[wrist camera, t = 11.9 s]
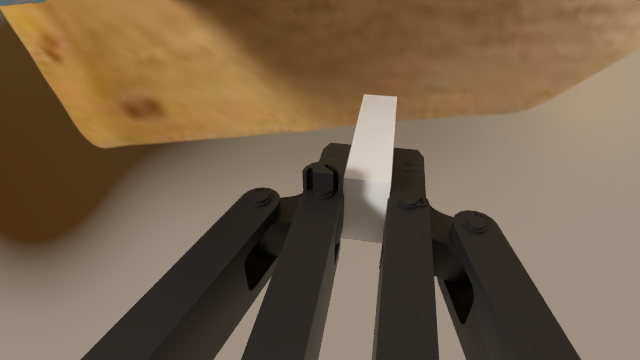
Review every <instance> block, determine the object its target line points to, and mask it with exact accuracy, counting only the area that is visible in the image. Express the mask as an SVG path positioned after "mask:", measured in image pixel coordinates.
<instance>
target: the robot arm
mask: <svg viewBox="0 0 640 360" xmlns="http://www.w3.org/2000/svg"><path fill="white" fill-rule="evenodd" d="M45 1H46V0H0V6H8V5H17V4H26V3H40V2H45ZM396 104H397V97H395V96H380V95H366V94H364V96H363V101H362V105H361V109H360V113H359V117H358V121H357V125H356V129H355V133H354V138H353V142H352V145H348V144H338V143H330V144H329V145H327V146H326V147H325V148H324V149H323V152H322V154H321V158H320V160H319V162H316V163H312V164H310V165H308V166H306V167H305V168H304V170H303V193H302V194H299V195H296V196H292V197H284V198H280V197H279V194H278V193H277V192H276V191H274V190H272V189H270V188H255V189H252V190H250V191H248V192H247V193H245V194H244V195H243V196H242V197H241V198H240V199H239V200H238V201H237V202H236V203H235V204H234V205H233V206H232V207H231V208H230V209H229V210H228V211H227V212H226V213H225V214H224V215H223V216H222V217H221V218H220V219H219V220H218V221H217V222H216V223H215V224H214V225H213V226H212V227H211V228H210V229H209V230H208V231H207V232H206V233H205V234H204V235H203V236H202V237H201V238H200V239H199V240H198V241H197V242H196V243H195V244H194V245H193V246H192V247H191V248H190V249H189V250H188V251H187V252H186V253H185V255H183V256H182V257H181V258H180V259H179V261H177V263H175V264H174V265H173V267H172V268H171V269H170V270H169V271H168V272H167V273H166V274H165V275H164V276H163V277H162V278H161V279H160V280H159V281H158V282H157V283H156V284H155V285H154V286H153V287H152V288H151V289H150V290H149V291H148V292H147V293H146V294H145V295H144V296H143V297H142V298H141V299H140V300H139V301H138V302H137V303H136V304H135V305H134V306H133V307H132V308H131V309H130V310H129V311H128V312H127V313H126V314H125V315H124V316H123V317H122V318H121V319H120V320H119V321H118V323H116V324H115V325H114V326H113V327H112V328H111V329H110V330H109V331H108V332H107V333H106V335H104V336H103V338H101V339H100V340H99V342H98V343H97V344H95V346H94V347H93V348H92V349H91V350H90V351H89V352H88V353H87V354H86V355H85V356H84V357H83V358H82V359H81V360H213V359H214V358H215V357H216V355H217V354H218V352H219V351H220V349H221V348H222V347H223V345H224V344H225V342H226V341H227V339H228V338H229V336H230V335H231V334H232V332H233V331H234V329H235V328H236V326H237V325H238V324H239V322H240V321H241V319H242V318H243V316H244V315H245V313H246V312H247V311H248V309H249V308H250V306H251V305H252V303H253V302H254V301H255V299H256V298H257V296H258V295H259V293H260V292H261V290H262V289H263V288H264V286H265V285H266V283H267V282H268V280H269V279H270V278H271V280H270V283H269V286H268V288H267V291H266V294H265V296H264V299H263V302H262V305H261V307H260V310H259V313H258V315H257V318H256V321H255V323H254V326H253V329H252V332H251V334H250V337H249V340H248V342H247V345H246V348H245V351H244V353H243V356H242V359H241V360H318V357H319V352H320V347H321V342H322V337H323V332H324V326H325V322H326V317H327V312H328V307H329V302H330V297H331V292H332V287H333V281H334V277H335V272H336V266H337V262H338V257H339V252H340V238H341V234H342V238H347V239H354V240H361V241H368V242H376V243H382V251H381V258H380V266H379V269H380V272H379V283H378V296H377V307H376V318H375V329H374V342H373V353H372V360H439V351H438V335H437V318H436V303H435V285H434V276H437V279H438V283H439V286H440V289H441V292H442V294H443V297H444V300H445V303H446V305H447V308H448V311H449V314H450V316H451V319H452V322H453V325H454V327H455V330H456V333H457V335H458V338H459V341H460V343H461V346H462V349H463V352H464V355H465V357H466V360H581V359H580V357H579V356H578V354H577V353H576V351H575V349H574V348H573V346H572V344H571V343H570V341H569V340H568V338H567V336H566V335H565V333H564V331H563V330H562V328H561V327H560V325H559V323H558V322H557V320H556V318H555V317H554V315H553V314H552V312H551V310H550V309H549V307H548V306H547V304H546V302H545V301H544V299H543V297H542V296H541V294H540V293H539V291H538V289H537V288H536V286H535V285H534V283H533V281H532V280H531V278H530V276H529V275H528V273H527V272H526V270H525V268H524V267H523V265H522V264H521V262H520V260H519V259H518V257H517V255H516V254H515V252H514V251H513V249H512V247H511V246H510V244H509V243H508V241H507V239H506V238H505V236H504V235H503V233H502V231H501V230H500V228H499V227H498V225H497V223H496V222H495V221H494V220H493V219H492V218H490V217H489V216H487V215H485V214H483V213H480V212H477V211H469V210H467V211H461V212H459V213H457V214H456V215H455V216H454V217H451V216H448V215H445V214H443V213H440V212H438V211H437V210H435V209H434V208H432V207H431V206H430V205H429V202H428V200H427V199H426V194H425V193H426V191H425V174H424V157H423V156H422V155H421V153H420V152H419V151H418V150H412V149H401V148H394V132H395V119H396ZM271 276H272V277H271Z"/></svg>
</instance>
